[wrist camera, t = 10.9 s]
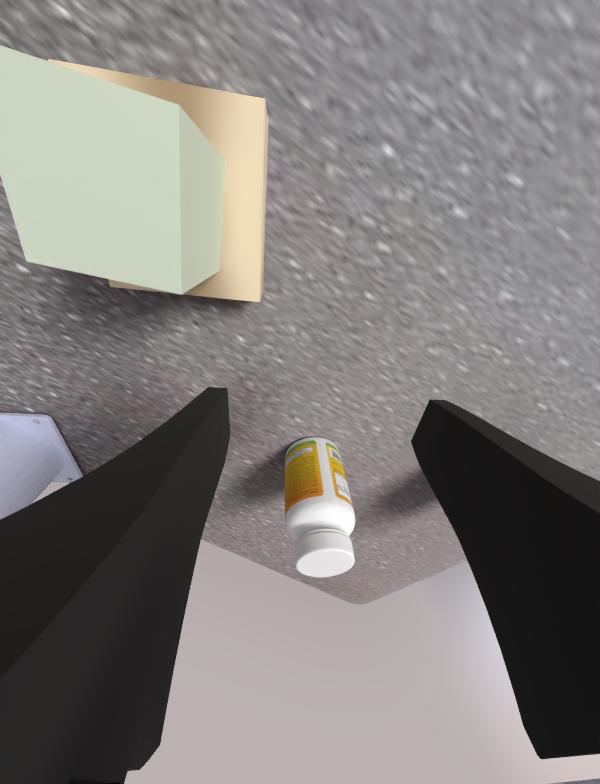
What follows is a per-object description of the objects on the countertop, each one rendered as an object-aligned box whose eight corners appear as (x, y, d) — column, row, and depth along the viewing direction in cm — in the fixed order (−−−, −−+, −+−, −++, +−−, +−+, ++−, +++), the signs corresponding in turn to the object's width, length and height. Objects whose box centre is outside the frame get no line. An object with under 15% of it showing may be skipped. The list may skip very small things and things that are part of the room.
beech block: (137, 277, 16) (110, 286, 14) (97, 94, 12) (48, 58, 9) (263, 291, 17) (259, 302, 15) (268, 124, 13) (264, 98, 10)
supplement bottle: (279, 470, 26) (277, 580, 18) (292, 430, 23) (296, 540, 15) (329, 476, 27) (348, 584, 19) (347, 439, 24) (378, 547, 16)
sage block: (128, 249, 13) (26, 261, 8) (114, 127, 10) (-43, 31, 5) (219, 270, 14) (181, 294, 8) (226, 161, 11) (178, 104, 6)
